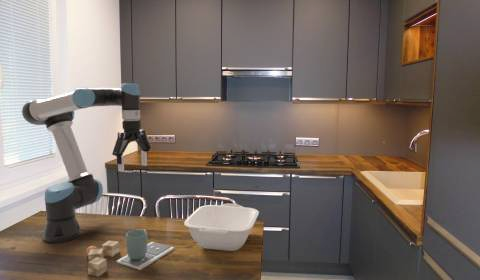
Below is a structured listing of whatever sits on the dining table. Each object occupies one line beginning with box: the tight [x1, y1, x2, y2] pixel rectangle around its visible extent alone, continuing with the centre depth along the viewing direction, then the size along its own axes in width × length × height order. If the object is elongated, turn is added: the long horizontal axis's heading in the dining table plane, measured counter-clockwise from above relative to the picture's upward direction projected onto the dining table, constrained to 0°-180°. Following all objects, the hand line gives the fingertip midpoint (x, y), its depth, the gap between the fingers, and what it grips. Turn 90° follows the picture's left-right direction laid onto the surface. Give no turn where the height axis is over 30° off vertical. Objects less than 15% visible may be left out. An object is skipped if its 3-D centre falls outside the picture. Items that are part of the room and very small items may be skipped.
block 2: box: [87, 257, 108, 277], centre depth 129 cm, size 4×4×4 cm
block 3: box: [101, 240, 120, 258], centre depth 144 cm, size 4×4×4 cm
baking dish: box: [183, 203, 260, 252], centre depth 154 cm, size 34×28×13 cm
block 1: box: [87, 248, 104, 262], centre depth 137 cm, size 4×4×4 cm
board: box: [116, 241, 175, 271], centre depth 143 cm, size 12×20×1 cm, turn 152°
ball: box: [86, 245, 98, 256], centre depth 142 cm, size 4×4×4 cm
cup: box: [125, 228, 148, 260], centre depth 138 cm, size 8×8×10 cm
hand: (133, 168), depth 156 cm, fingers open, 13 cm apart
